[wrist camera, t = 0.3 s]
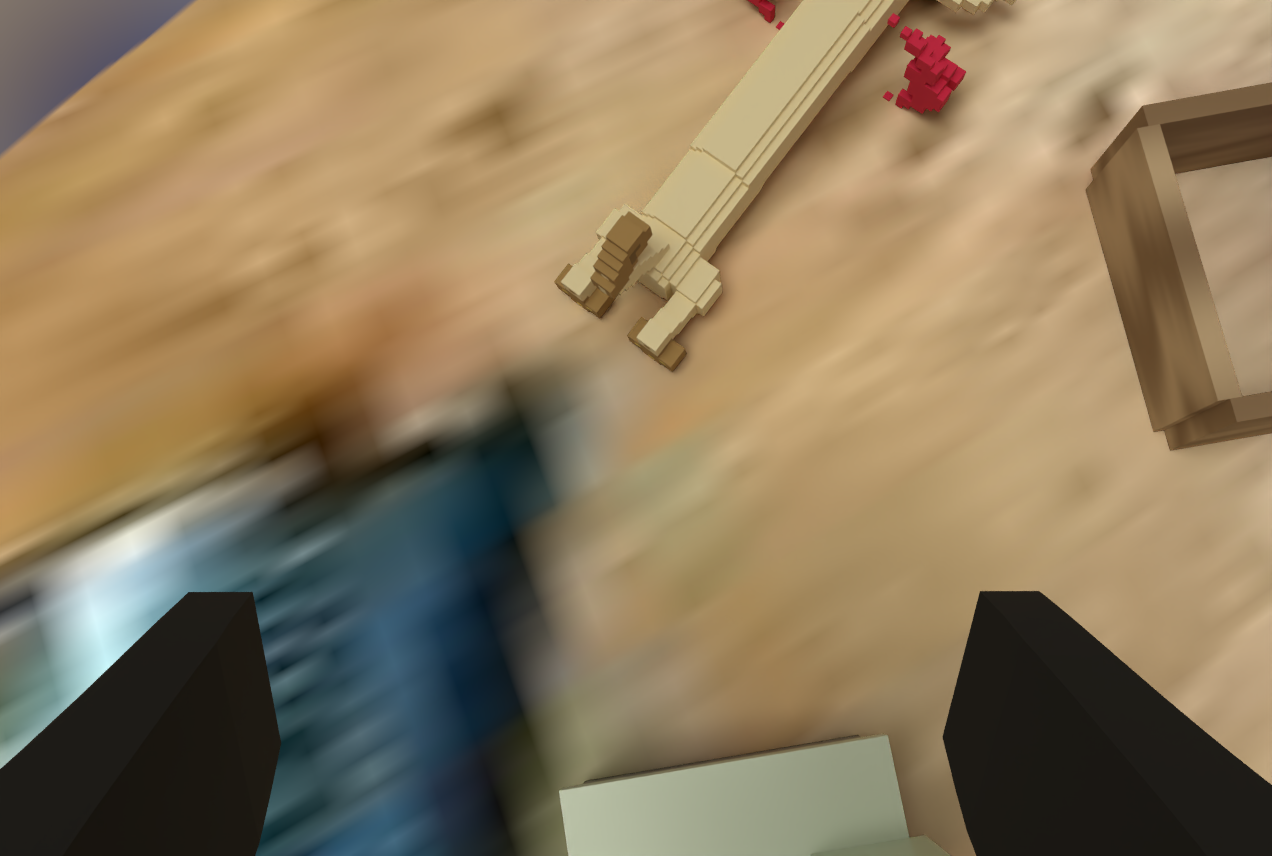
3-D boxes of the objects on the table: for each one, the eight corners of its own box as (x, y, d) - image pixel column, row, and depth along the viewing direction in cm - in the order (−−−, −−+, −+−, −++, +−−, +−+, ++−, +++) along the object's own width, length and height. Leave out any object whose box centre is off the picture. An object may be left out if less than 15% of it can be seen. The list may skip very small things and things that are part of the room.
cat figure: (717, 411, 42) (1082, -67, 44) (709, 368, 34) (1164, -226, 35) (527, 271, 44) (883, -185, 45) (473, 195, 35) (915, -365, 37)
